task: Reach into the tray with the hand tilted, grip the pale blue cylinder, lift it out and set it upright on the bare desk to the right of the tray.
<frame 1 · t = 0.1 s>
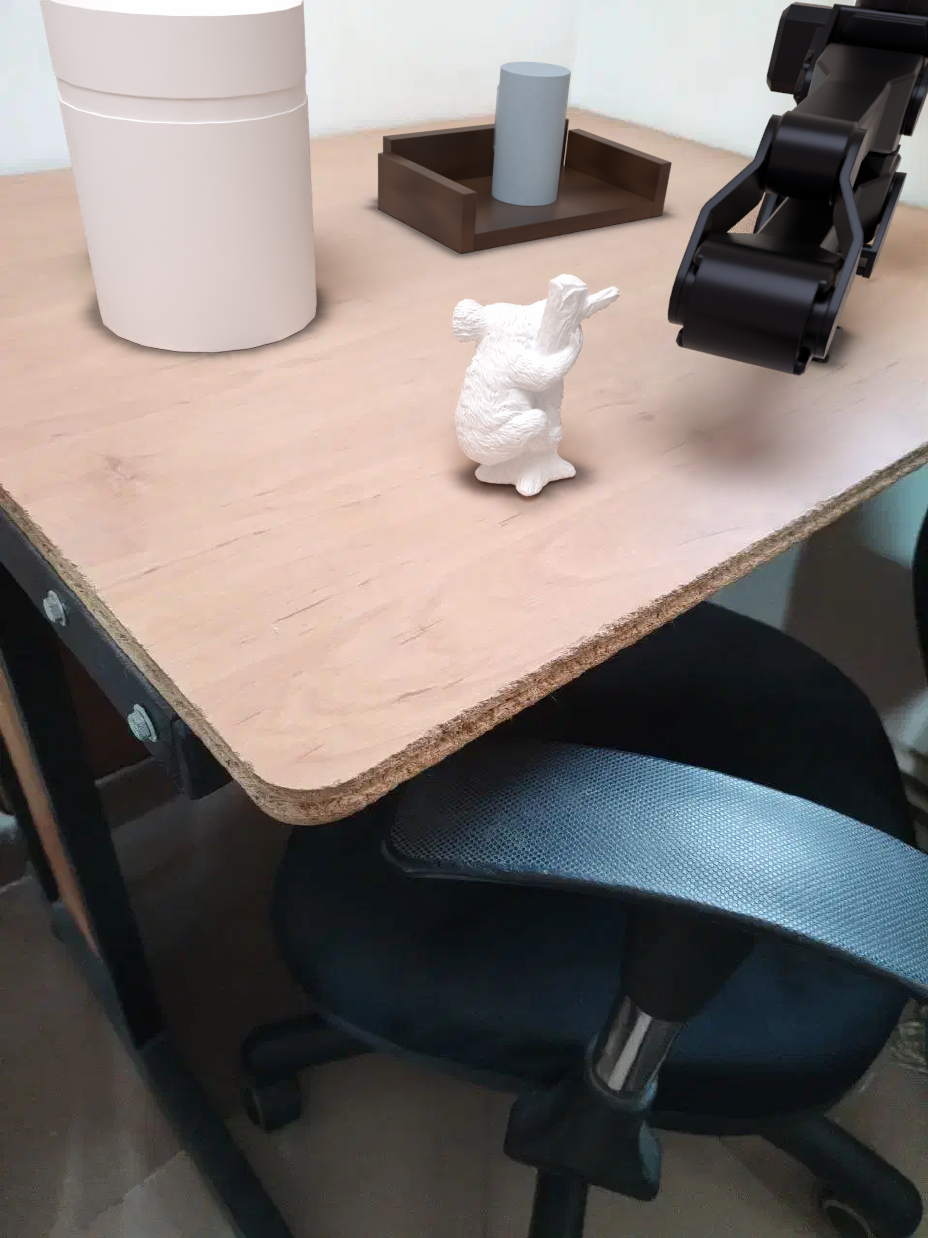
hand: (905, 48, 81), 17 cm above the table, tool horizontal, fingers open, 9 cm apart
tray: (522, 211, 94), on the table
pale blue cylinder: (524, 195, 93), point 1 cm above the table, touching tray
koala figurine: (516, 479, 56), on the table
canister: (211, 309, 72), on the table
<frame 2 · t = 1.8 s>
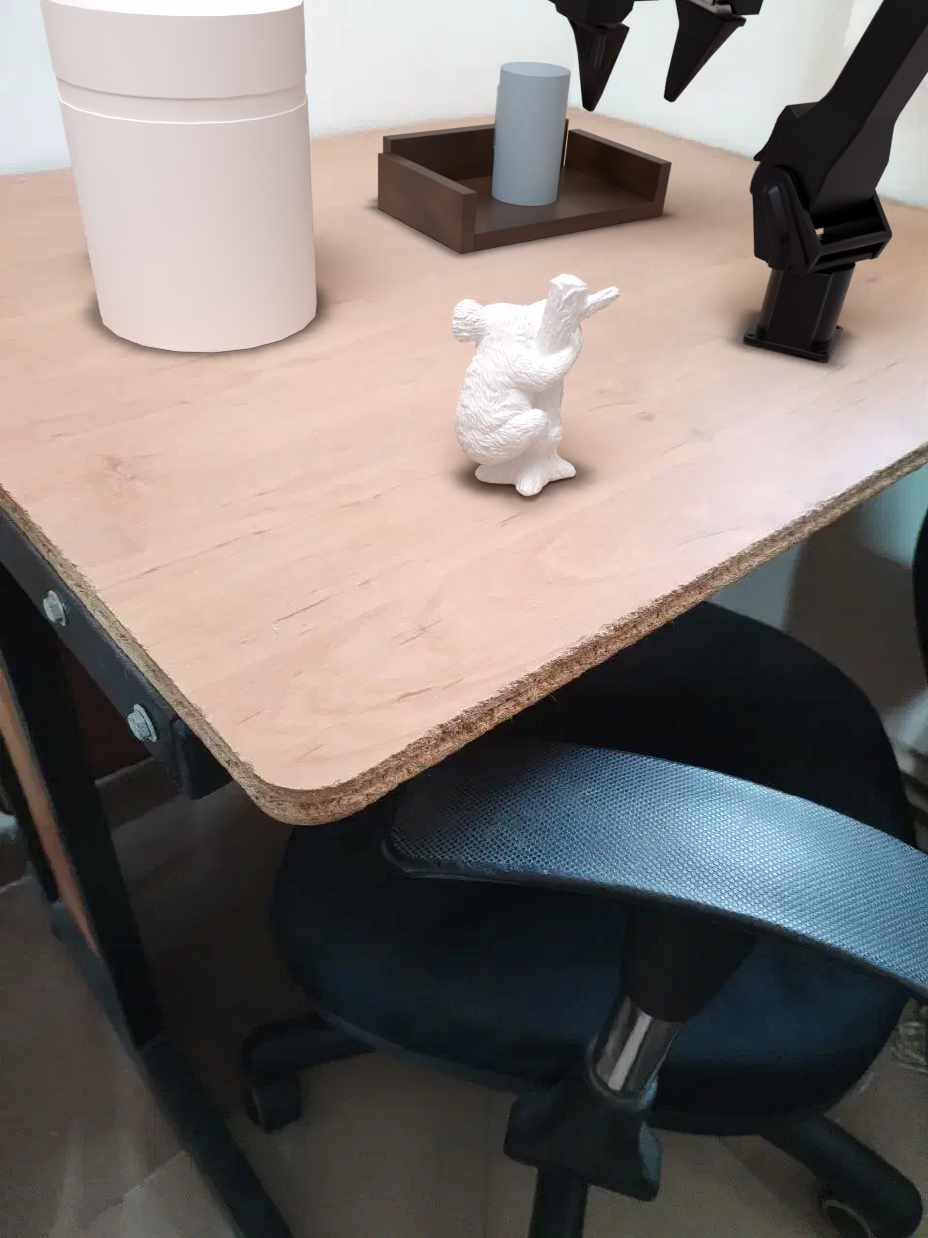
hand: (629, 104, 80), 12 cm above the table, tool pointing down, fingers open, 9 cm apart
nothing on the table moved.
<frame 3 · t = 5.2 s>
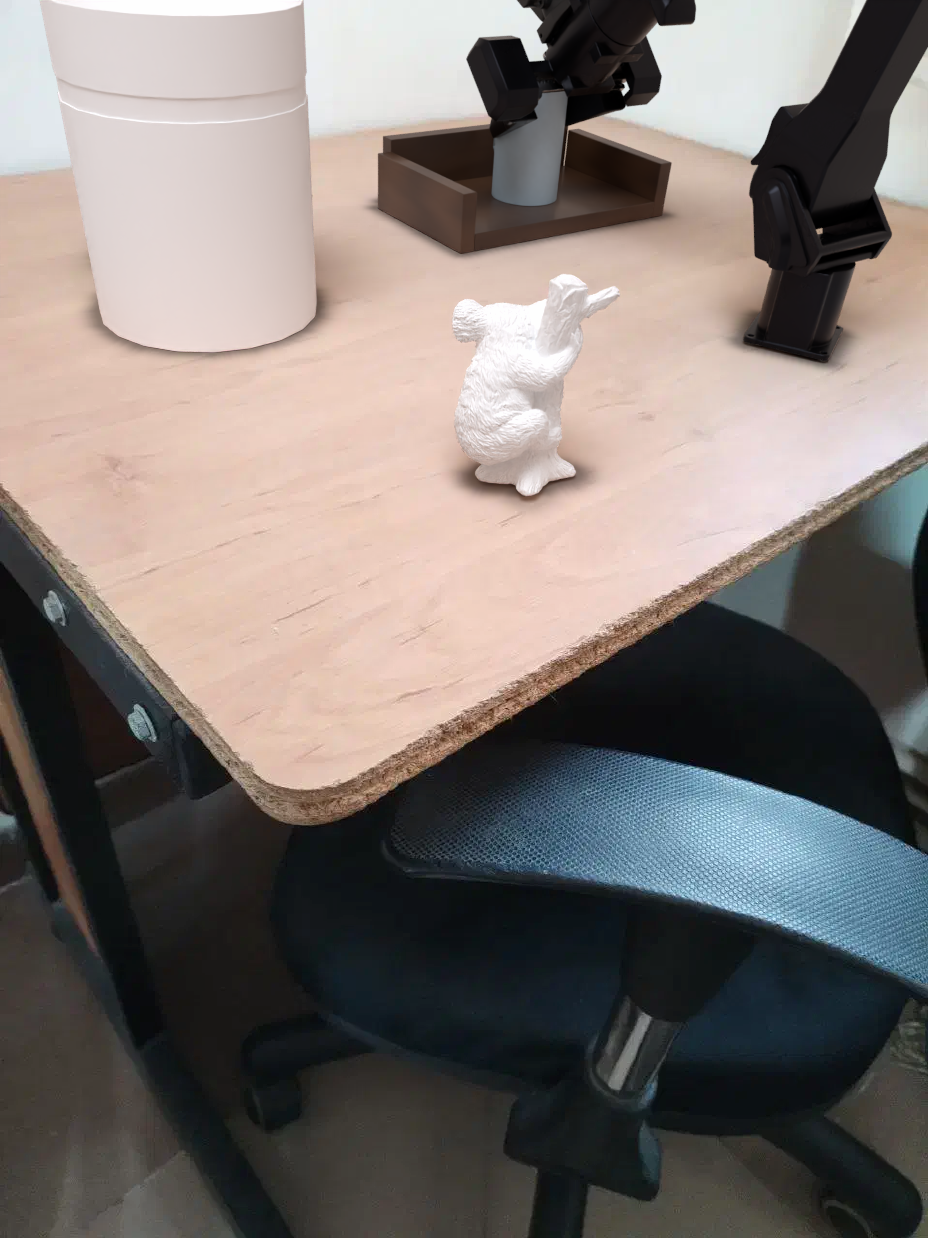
hand: (520, 129, 91), 7 cm above the table, tool tilted 45°, fingers closed on pale blue cylinder, 6 cm apart
pale blue cylinder: (524, 195, 93), point 2 cm above the table, touching tray, gripper
everything else where it was.
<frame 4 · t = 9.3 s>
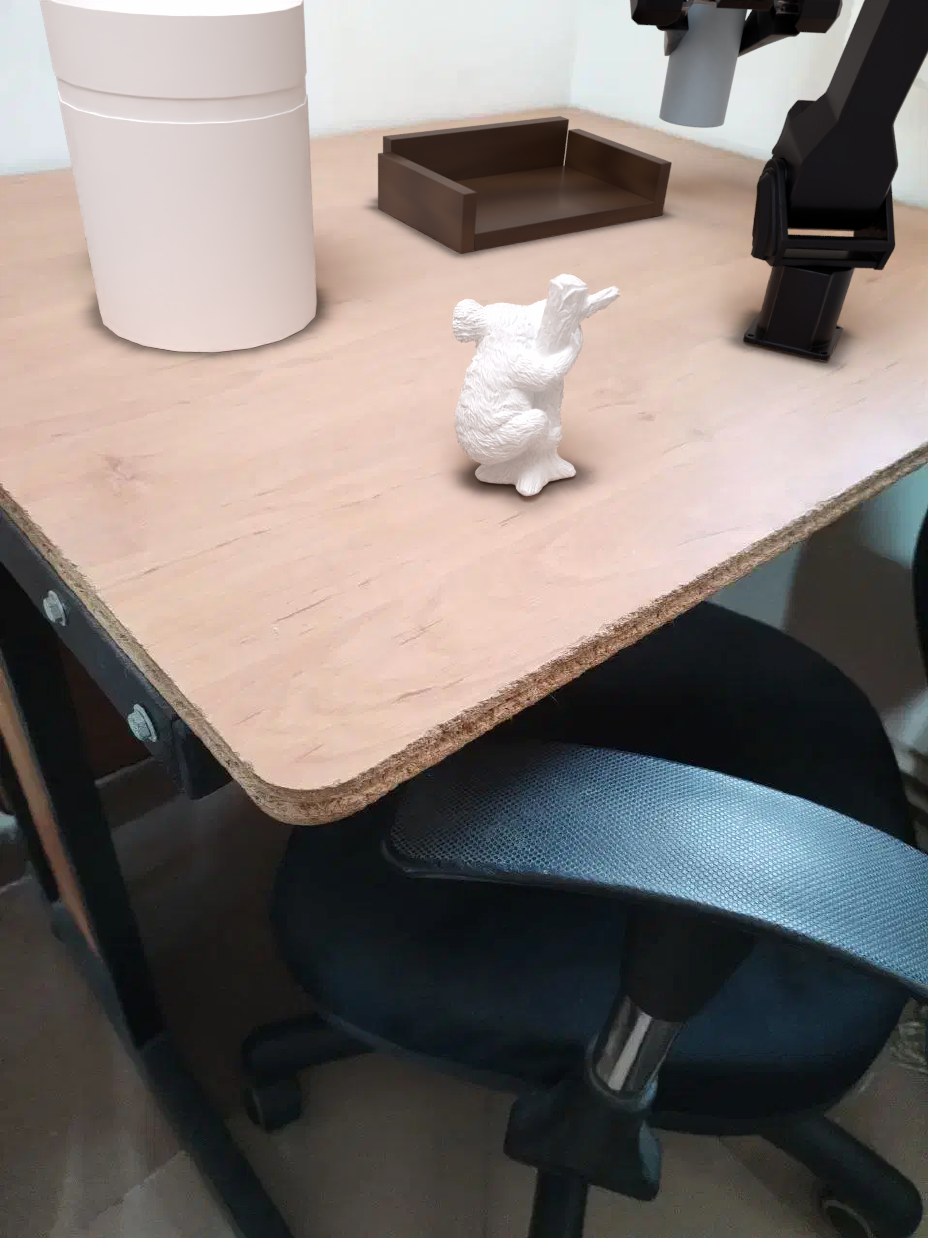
hand: (699, 52, 92), 13 cm above the table, tool tilted 45°, fingers closed on pale blue cylinder, 6 cm apart
pale blue cylinder: (691, 119, 95), point 8 cm above the table, touching gripper
everything else where it was.
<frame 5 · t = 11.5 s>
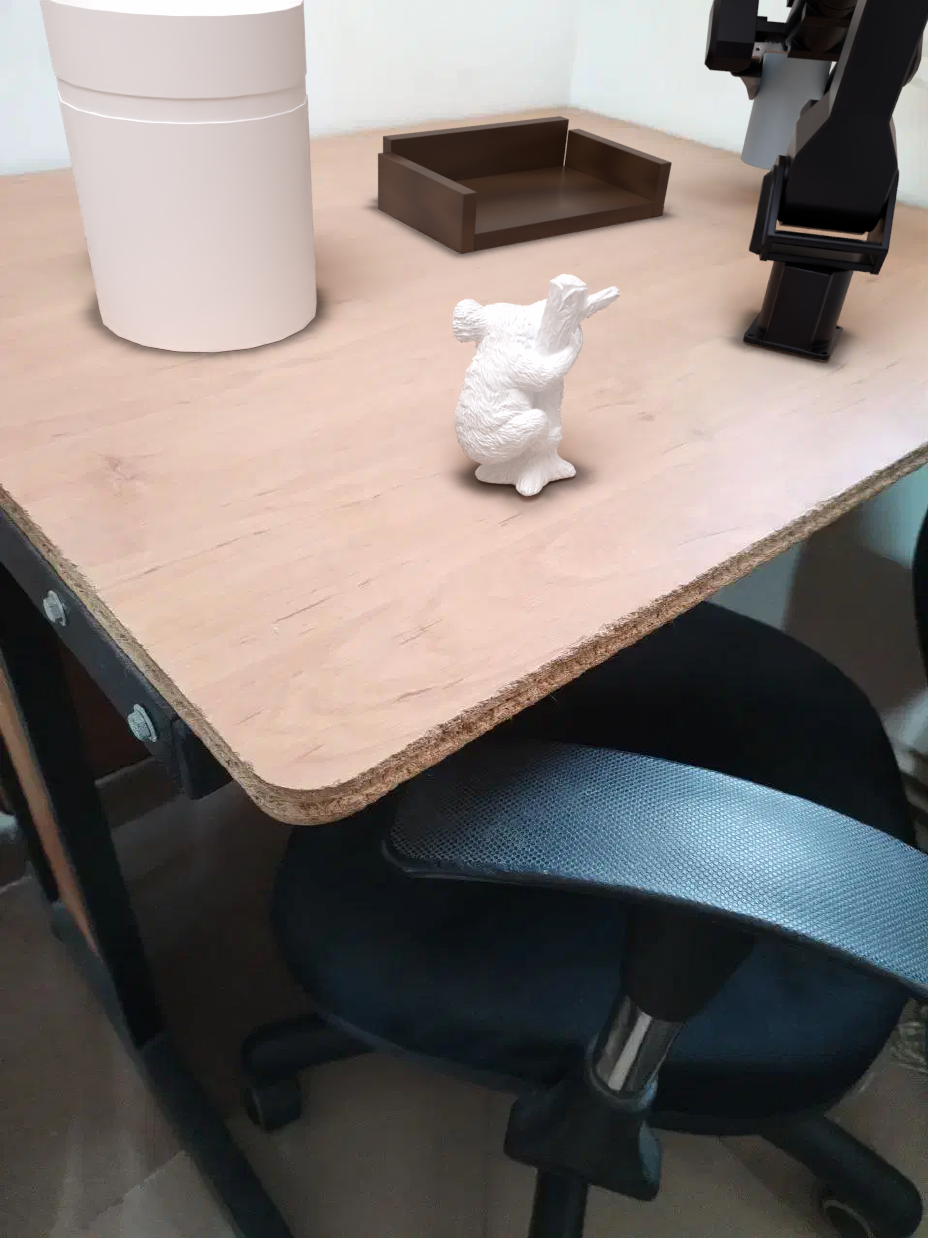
hand: (785, 98, 95), 10 cm above the table, tool tilted 45°, fingers closed on pale blue cylinder, 6 cm apart
pale blue cylinder: (772, 162, 97), point 4 cm above the table, touching gripper
everything else where it was.
when the fingers open (6 cm above the table, at t = 13.3 s): pale blue cylinder stays where it is, on the table.
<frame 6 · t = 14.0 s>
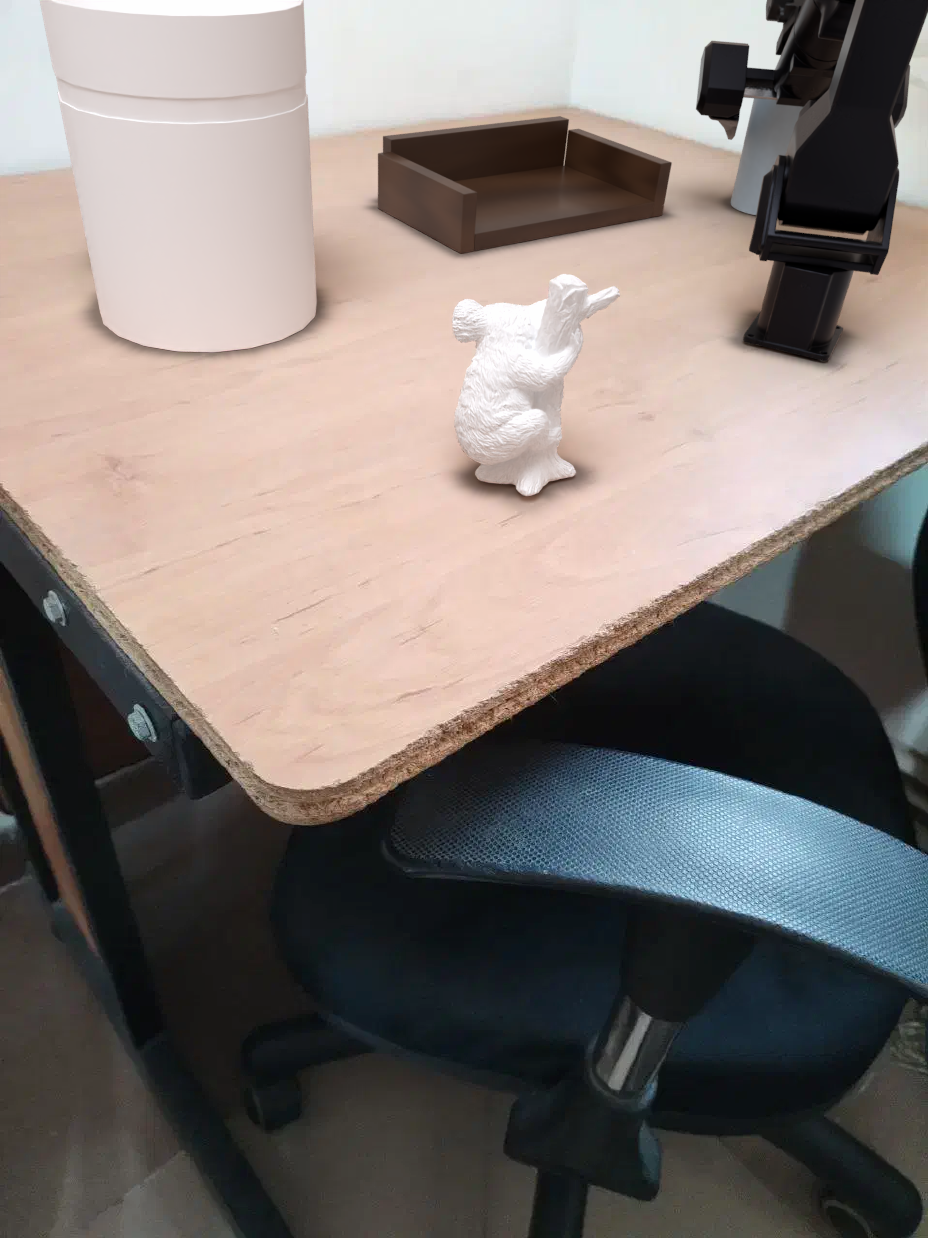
hand: (775, 139, 97), 6 cm above the table, tool tilted 45°, fingers open, 9 cm apart
pale blue cylinder: (761, 207, 100), on the table
everything else where it was.
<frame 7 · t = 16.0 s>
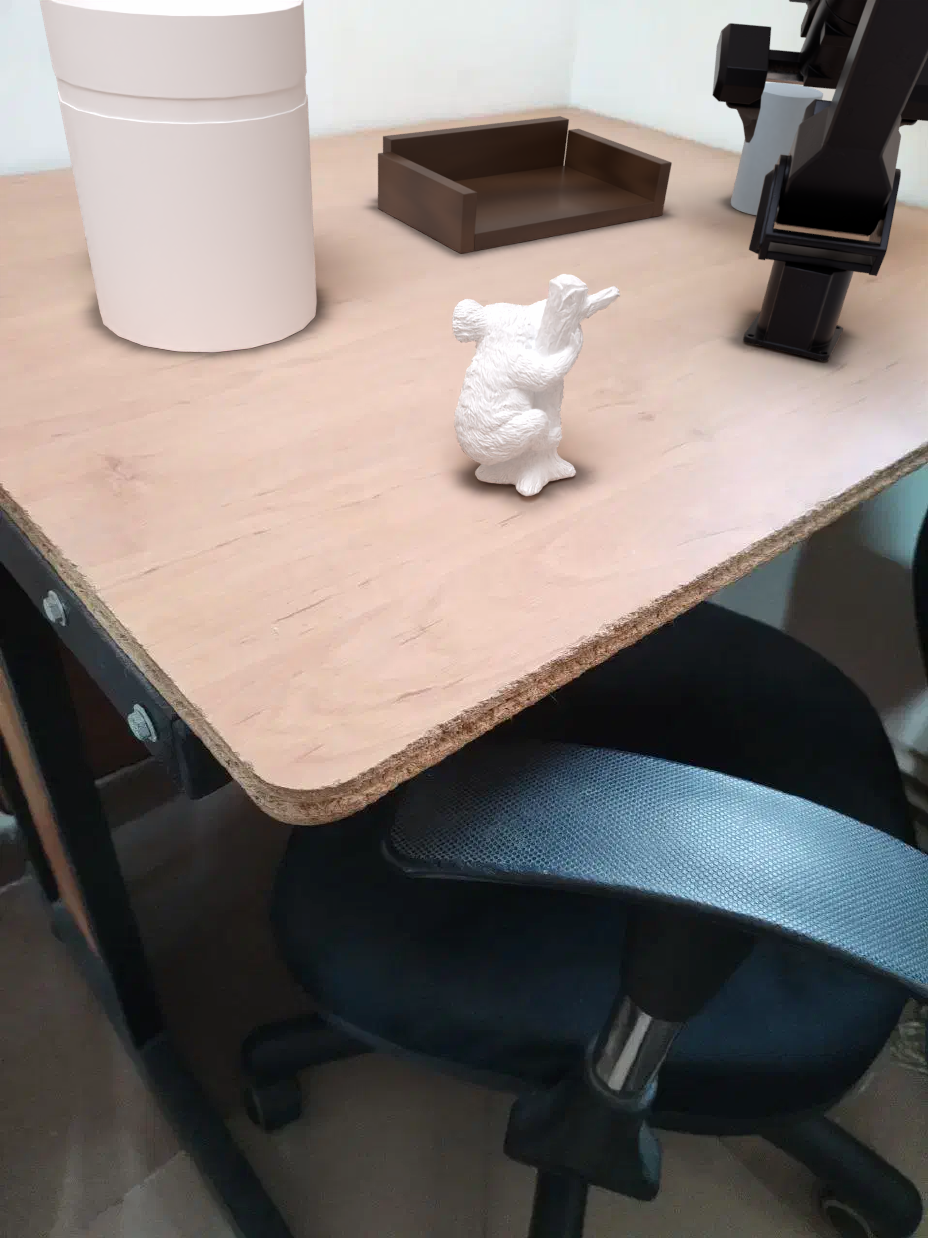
hand: (797, 143, 88), 8 cm above the table, tool tilted 35°, fingers open, 9 cm apart
nothing on the table moved.
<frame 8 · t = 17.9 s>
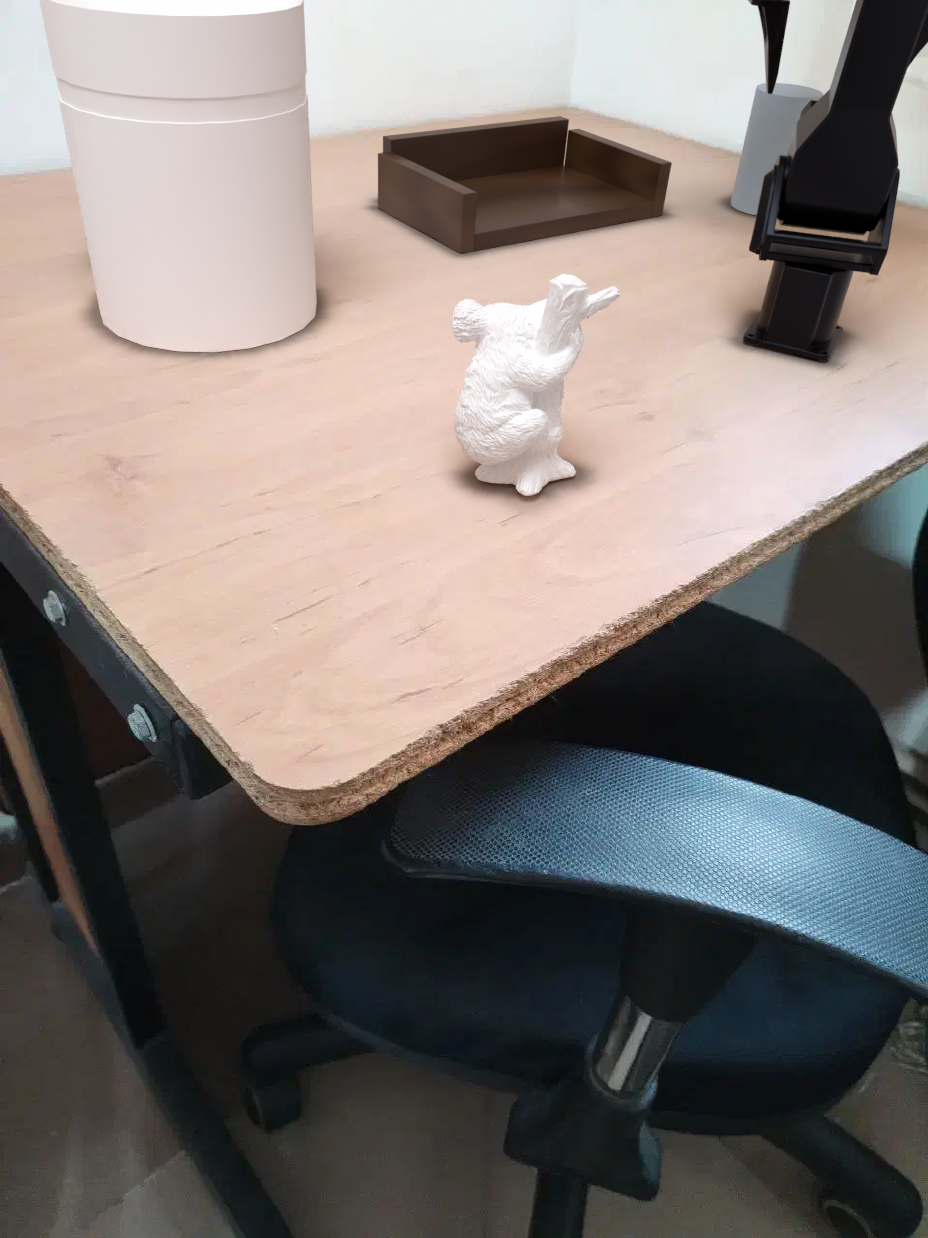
hand: (823, 97, 81), 13 cm above the table, tool pointing down, fingers open, 9 cm apart
nothing on the table moved.
at the end: pale blue cylinder inside the target area (0.1 cm from its centre), on the table; pale blue cylinder tilted 0°; the gripper is holding nothing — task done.
